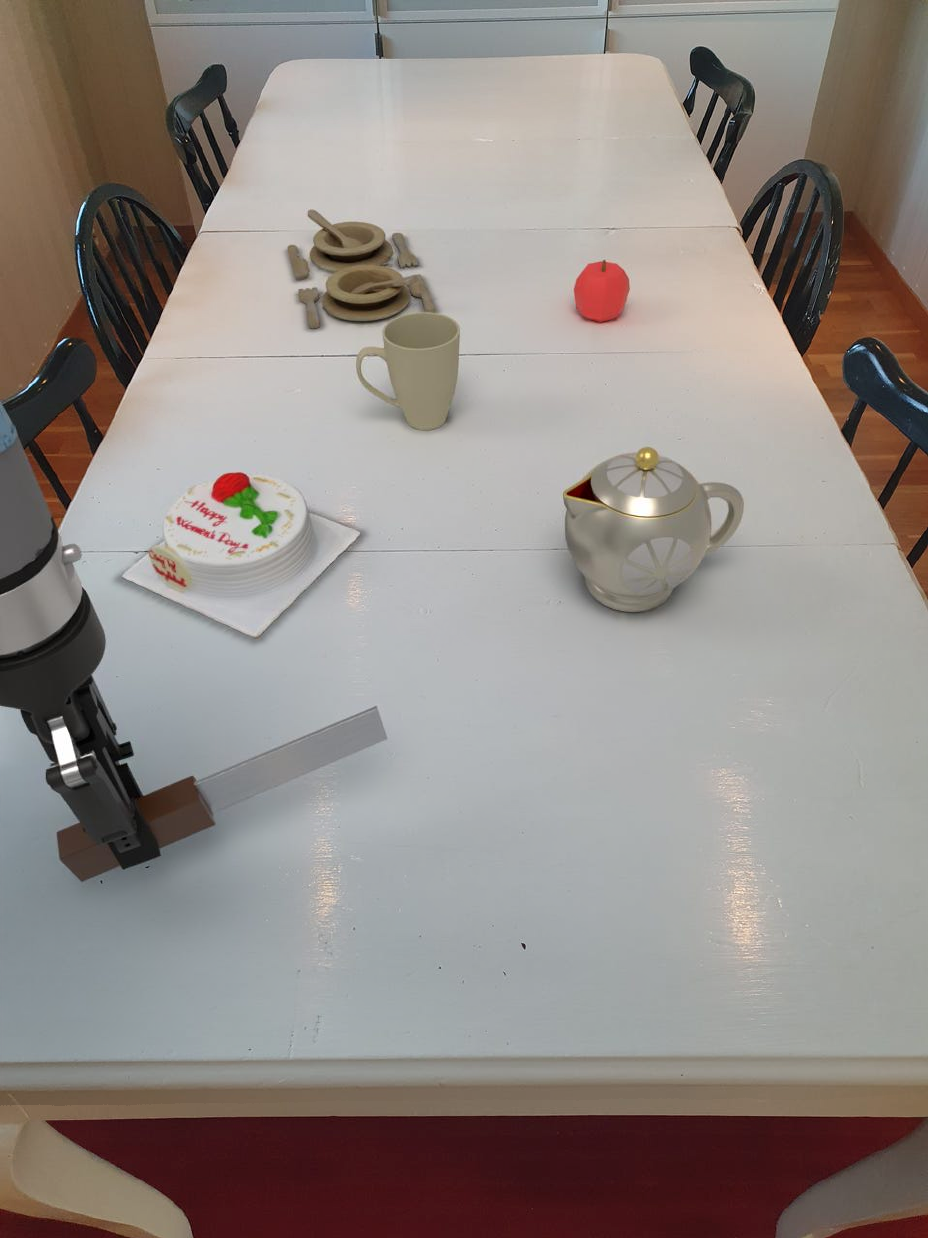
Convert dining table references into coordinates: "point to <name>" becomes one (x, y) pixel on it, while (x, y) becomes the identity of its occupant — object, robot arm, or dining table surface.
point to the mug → (419, 366)
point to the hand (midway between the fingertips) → (137, 840)
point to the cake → (240, 550)
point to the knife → (224, 790)
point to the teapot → (643, 527)
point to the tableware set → (358, 272)
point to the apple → (601, 291)
